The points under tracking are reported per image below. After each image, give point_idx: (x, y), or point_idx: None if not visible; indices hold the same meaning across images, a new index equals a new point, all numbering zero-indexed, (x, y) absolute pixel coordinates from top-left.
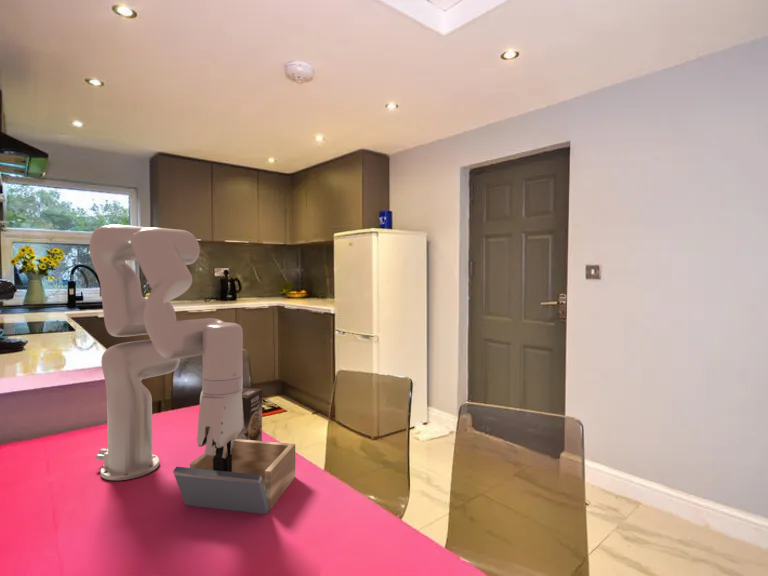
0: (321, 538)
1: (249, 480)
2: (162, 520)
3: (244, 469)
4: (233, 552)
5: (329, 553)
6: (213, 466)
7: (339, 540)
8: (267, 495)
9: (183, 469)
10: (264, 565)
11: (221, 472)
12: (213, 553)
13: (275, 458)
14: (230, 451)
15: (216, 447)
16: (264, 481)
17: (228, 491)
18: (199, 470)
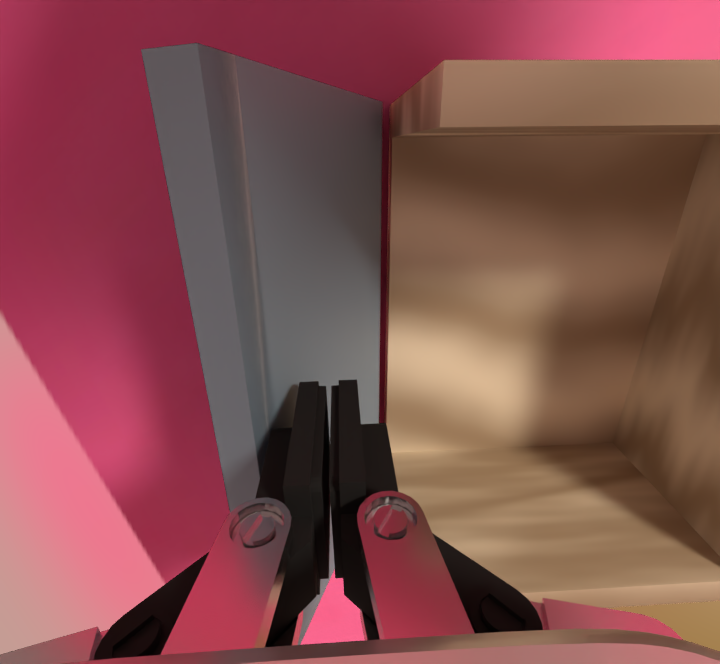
0: None
1: None
2: (233, 41)
3: (694, 253)
4: (164, 445)
5: None
6: (293, 421)
7: (306, 631)
8: None
9: (190, 166)
10: (151, 534)
11: (251, 493)
12: (133, 395)
13: (697, 454)
14: (361, 616)
15: (271, 615)
16: (595, 366)
17: None
18: (223, 332)
